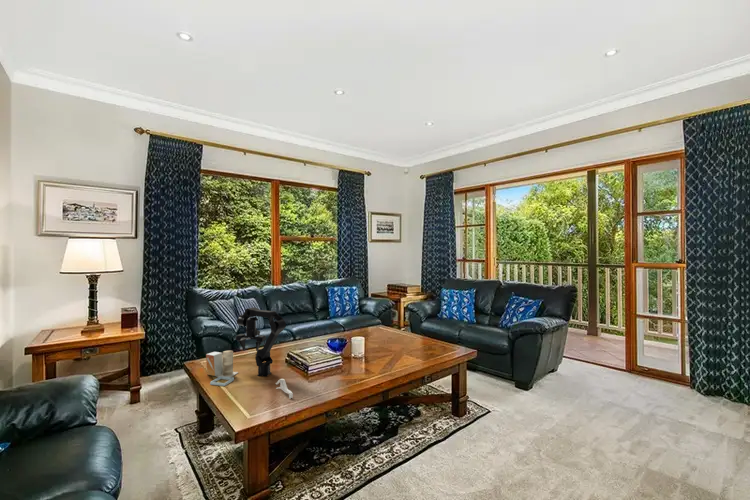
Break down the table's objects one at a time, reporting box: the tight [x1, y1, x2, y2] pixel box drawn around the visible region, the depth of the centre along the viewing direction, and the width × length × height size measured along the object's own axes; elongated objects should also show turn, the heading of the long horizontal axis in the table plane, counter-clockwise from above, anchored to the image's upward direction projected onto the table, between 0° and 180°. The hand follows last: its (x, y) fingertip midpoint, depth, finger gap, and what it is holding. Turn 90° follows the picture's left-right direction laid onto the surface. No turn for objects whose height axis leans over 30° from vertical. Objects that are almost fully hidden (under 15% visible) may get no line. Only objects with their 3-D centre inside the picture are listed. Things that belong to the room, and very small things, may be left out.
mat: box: [216, 371, 239, 378], centre depth 223 cm, size 9×9×1 cm
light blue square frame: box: [209, 376, 235, 387], centre depth 211 cm, size 9×9×2 cm
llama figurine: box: [275, 378, 294, 400], centre depth 197 cm, size 2×11×18 cm
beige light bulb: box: [222, 350, 234, 376], centre depth 223 cm, size 6×6×14 cm
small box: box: [205, 351, 223, 377], centre depth 224 cm, size 8×6×13 cm
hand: (250, 350), depth 231 cm, fingers open, 9 cm apart
